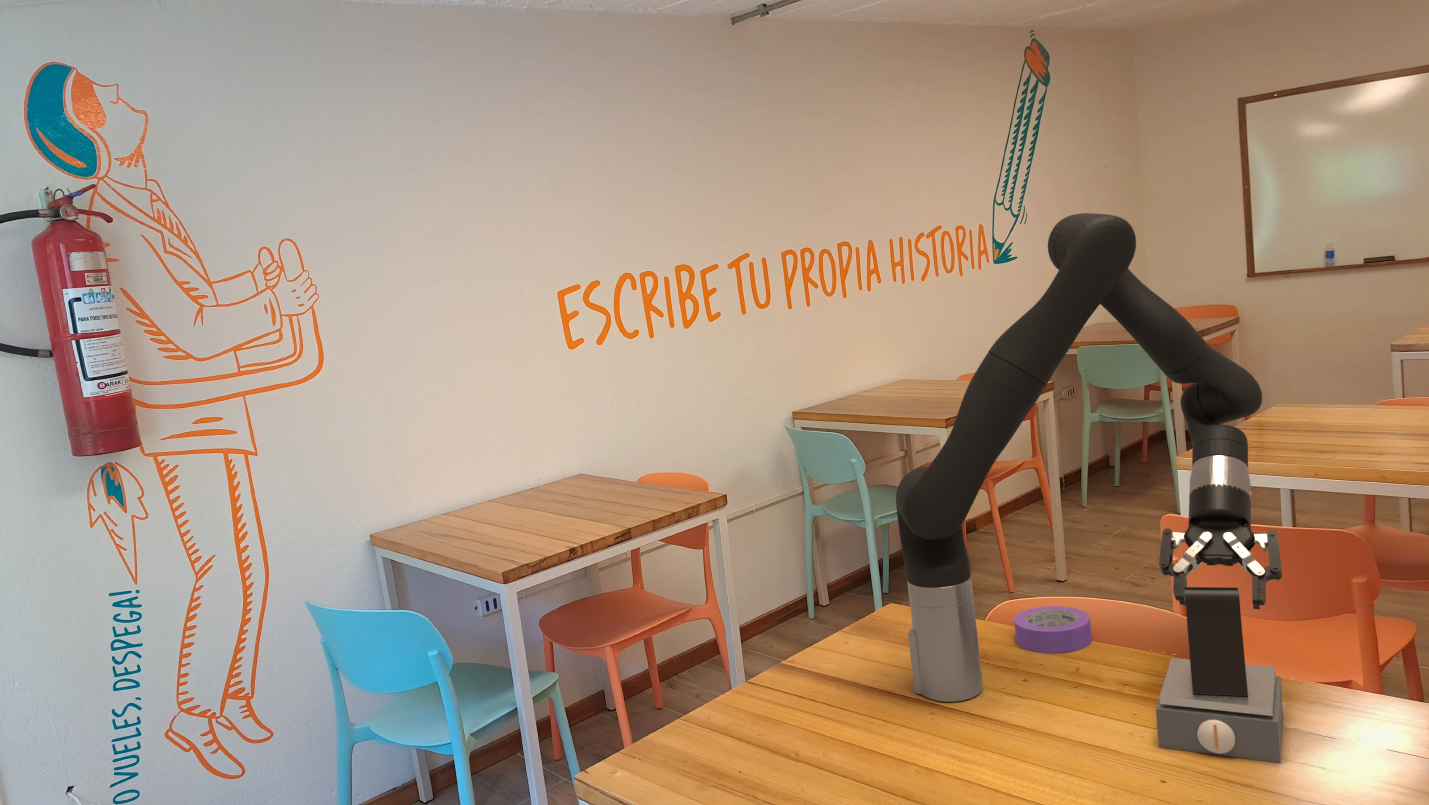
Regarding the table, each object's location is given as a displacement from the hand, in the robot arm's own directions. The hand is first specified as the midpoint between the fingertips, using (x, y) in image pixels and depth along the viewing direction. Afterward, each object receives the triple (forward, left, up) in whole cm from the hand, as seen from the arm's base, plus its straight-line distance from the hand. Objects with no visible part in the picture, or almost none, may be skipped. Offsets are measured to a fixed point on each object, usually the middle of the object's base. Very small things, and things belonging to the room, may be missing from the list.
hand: (1218, 604), depth 124 cm
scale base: (0, -6, -14) cm, 16 cm away
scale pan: (0, -6, -9) cm, 11 cm away
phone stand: (0, -6, -8) cm, 10 cm away
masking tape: (-26, +19, -15) cm, 35 cm away
